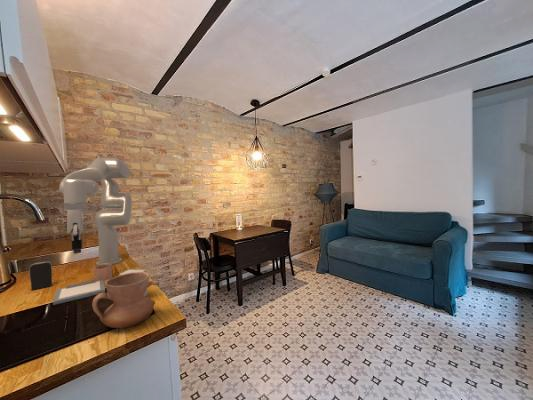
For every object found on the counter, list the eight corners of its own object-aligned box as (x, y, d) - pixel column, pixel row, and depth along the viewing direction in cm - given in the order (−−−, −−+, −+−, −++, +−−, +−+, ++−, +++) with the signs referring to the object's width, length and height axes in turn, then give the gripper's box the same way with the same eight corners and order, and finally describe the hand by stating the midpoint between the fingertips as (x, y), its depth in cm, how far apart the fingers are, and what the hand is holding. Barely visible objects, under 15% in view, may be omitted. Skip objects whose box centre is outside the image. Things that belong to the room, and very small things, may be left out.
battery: (53, 283, 104) (51, 259, 104) (52, 286, 101) (51, 261, 101) (31, 288, 100) (29, 263, 99) (30, 291, 97) (28, 265, 96)
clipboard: (57, 291, 96) (57, 287, 96) (103, 281, 105) (103, 278, 105) (53, 305, 85) (52, 300, 84) (105, 292, 94) (104, 288, 94)
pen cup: (94, 278, 110) (93, 266, 110) (111, 274, 114) (110, 263, 114) (94, 282, 104) (93, 270, 104) (112, 279, 109) (111, 266, 108)
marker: (72, 252, 100) (71, 230, 100) (82, 251, 102) (81, 229, 102) (71, 254, 97) (70, 231, 97) (82, 252, 99) (81, 230, 99)
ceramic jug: (153, 303, 85) (152, 266, 84) (162, 320, 73) (160, 278, 73) (94, 320, 74) (92, 278, 74) (93, 344, 63) (90, 294, 62)
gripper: (66, 206, 104) (68, 246, 104) (61, 208, 90) (63, 253, 91) (87, 205, 108) (89, 243, 108) (85, 207, 95) (87, 250, 95)
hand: (77, 247), depth 100 cm, fingers closed on marker, 3 cm apart
